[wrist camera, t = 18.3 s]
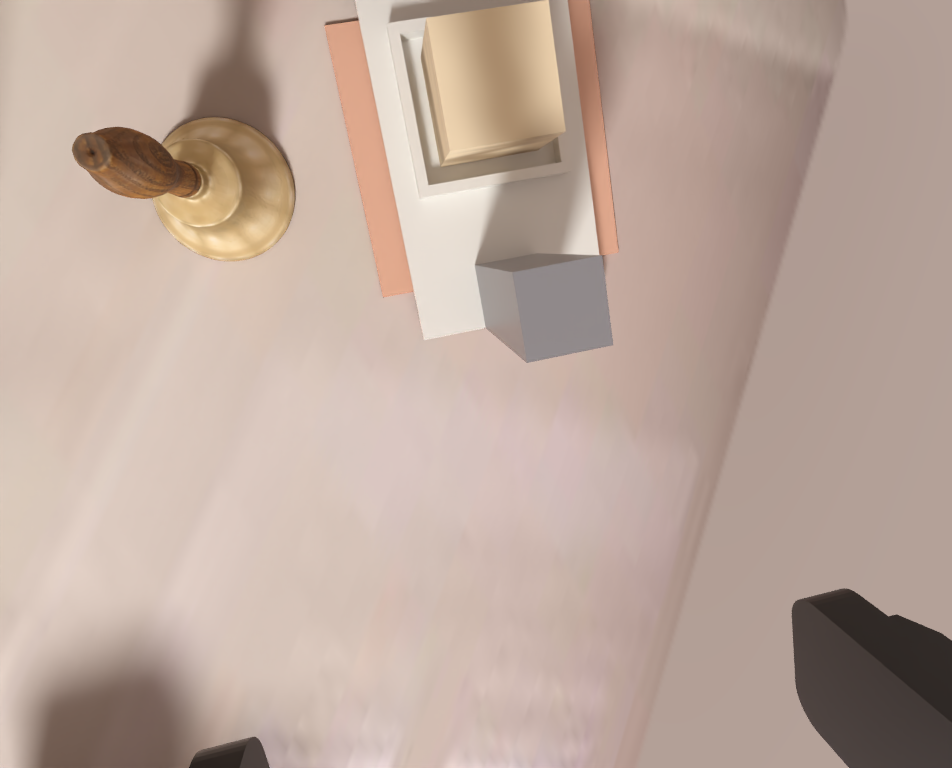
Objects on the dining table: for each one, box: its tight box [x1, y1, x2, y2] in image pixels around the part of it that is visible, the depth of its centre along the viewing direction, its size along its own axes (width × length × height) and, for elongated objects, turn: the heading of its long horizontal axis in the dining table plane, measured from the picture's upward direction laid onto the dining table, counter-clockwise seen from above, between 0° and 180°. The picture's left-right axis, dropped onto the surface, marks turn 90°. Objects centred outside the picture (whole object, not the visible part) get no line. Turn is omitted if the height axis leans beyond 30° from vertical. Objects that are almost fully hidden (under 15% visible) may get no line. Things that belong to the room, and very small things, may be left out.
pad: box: [324, 0, 619, 297], centre depth 37 cm, size 16×16×1 cm
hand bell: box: [72, 117, 295, 261], centre depth 28 cm, size 8×8×16 cm
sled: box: [355, 0, 613, 363], centre depth 30 cm, size 12×20×14 cm, turn 10°
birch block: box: [421, 0, 566, 167], centre depth 32 cm, size 6×6×6 cm
